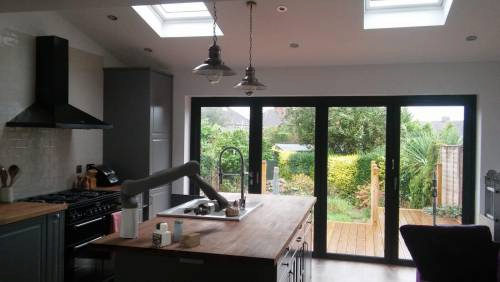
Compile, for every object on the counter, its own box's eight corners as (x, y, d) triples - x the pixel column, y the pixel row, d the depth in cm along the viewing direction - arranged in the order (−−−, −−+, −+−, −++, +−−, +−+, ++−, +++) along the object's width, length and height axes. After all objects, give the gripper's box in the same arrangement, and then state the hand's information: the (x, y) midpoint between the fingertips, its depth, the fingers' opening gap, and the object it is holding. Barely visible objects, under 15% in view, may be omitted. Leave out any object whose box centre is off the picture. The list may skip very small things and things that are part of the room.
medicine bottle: (152, 245, 228) (152, 222, 228) (161, 242, 234) (162, 221, 234) (161, 247, 224) (161, 224, 224) (171, 244, 230) (171, 222, 230)
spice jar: (171, 240, 239) (172, 220, 239) (177, 238, 244) (177, 219, 244) (179, 241, 237) (179, 221, 237) (184, 240, 241) (185, 220, 241)
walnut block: (179, 245, 228) (179, 234, 228) (188, 242, 235) (188, 231, 235) (191, 247, 224) (191, 236, 224) (200, 244, 231) (200, 233, 231)
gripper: (196, 201, 267) (180, 205, 253) (215, 203, 260) (199, 207, 246) (196, 213, 267) (180, 217, 253) (215, 215, 260) (199, 220, 246)
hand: (190, 212), depth 249 cm, fingers open, 8 cm apart
